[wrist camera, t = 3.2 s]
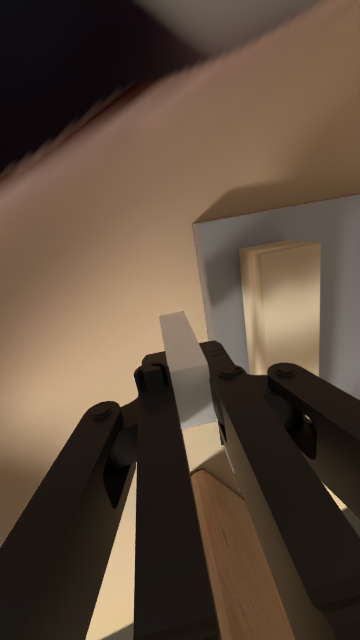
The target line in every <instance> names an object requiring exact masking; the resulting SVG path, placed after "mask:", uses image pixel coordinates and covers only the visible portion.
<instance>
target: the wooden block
mask: <svg viewBox="0 0 360 640" xmlns="http://www.w3.org/2000/svg"><path fill="white" fill-rule="evenodd" d="M191 480H192V486H193V491H194V496H195V501H196V506H197V511H198V517H199V522H200V527H201V532H202V537H203V543H204V548H205V553H206V558H207V563H208V569H209V574H210V579H211V584H212V589H213V595H214V600H215V605H216V610H217V615H218V621H219V626H220V631H221V636H222V640H295V637H294V634H293V631H292V629H291V626H290V623H289V620H288V618H287V615H286V612H285V609H284V607H283V604H282V601H281V599H280V596H279V593H278V590H277V588H276V585H275V582H274V579H273V577H272V574H271V571H270V568H269V566H268V563H267V560H266V557H265V555H264V552H263V549H262V546H261V544H260V541H259V538H258V535H257V533H256V530H255V527H254V524H253V522H252V519H251V516H250V513H249V511H248V508H247V505H246V502H245V500H244V499H242V498H241V497H240V496H238V495H237V494H236V493H234V492H233V491H232V490H230V489H229V488H228V487H227V486H225V485H224V484H223V483H221V482H220V481H219V480H217V479H216V478H215V477H213V476H212V475H211V474H209V473H208V472H207V471H204V470H201V471H197V472H196V473H194V474H193V475H192V476H191Z"/></svg>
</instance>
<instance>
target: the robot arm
mask: <svg viewBox="0 0 360 640" xmlns="http://www.w3.org/2000/svg"><path fill="white" fill-rule="evenodd" d="M159 319H160V324H161V330H162V336H163V342H164V347H165V351H164V352H159V353H154V354H149V355H146V356H145V357H144V359H143V360H142V366H140V367H139V368H137V369H136V370H135V372H134V378H135V382H136V385H137V389H138V397H137V398H136V399H135V400H134V401H132V402H131V403H129V404H127V405H124V406H122V407H120V406H119V404H118V403H116V402H114V401H106V402H101V403H99V404H96V405H94V406H93V407H91V408H90V409H88V410H87V412H86V413H85V414H84V415H83V417H82V418H81V420H80V422H79V423H78V425H77V426H76V428H75V430H74V431H73V433H72V434H71V436H70V438H69V439H68V441H67V442H66V444H65V446H64V447H63V449H62V450H61V452H60V454H59V455H58V457H57V458H56V460H55V462H54V463H53V465H52V466H51V468H50V470H49V471H48V473H47V474H46V476H45V478H44V479H43V481H42V482H41V484H40V486H39V487H38V489H37V490H36V492H35V494H34V495H33V497H32V498H31V500H30V502H29V503H28V505H27V506H26V508H25V510H24V511H23V513H22V514H21V516H20V518H19V519H18V521H17V522H16V524H15V526H14V527H13V529H12V530H11V532H10V533H9V535H8V537H7V538H6V540H5V541H4V543H3V545H2V546H1V548H0V640H85V639H86V635H87V632H88V628H89V625H90V622H91V618H92V615H93V611H94V608H95V605H96V601H97V598H98V594H99V591H100V588H101V584H102V581H103V577H104V574H105V571H106V567H107V564H108V560H109V557H110V554H111V550H112V547H113V544H114V540H115V537H116V533H117V530H118V527H119V523H120V520H121V516H122V513H123V510H124V506H125V503H126V499H127V496H128V493H129V489H130V486H131V482H132V479H133V476H134V472H135V469H136V462H137V490H136V539H135V589H134V638H133V640H222V636H221V631H220V626H219V621H218V615H217V610H216V605H215V600H214V595H213V589H212V584H211V579H210V574H209V569H208V563H207V558H206V553H205V548H204V543H203V537H202V532H201V527H200V522H199V517H198V511H197V506H196V501H195V496H194V491H193V486H192V480H191V475H190V470H189V465H188V460H187V454H186V449H185V444H184V439H183V434H182V429H185V428H190V427H194V426H199V425H203V424H207V423H212V422H216V416H217V419H218V425H219V432H220V439H221V445H225V447H226V450H227V453H228V456H229V458H230V461H231V464H232V467H233V469H234V472H235V475H236V478H237V480H238V483H239V486H240V489H241V491H242V494H243V497H244V500H245V502H246V505H247V508H248V511H249V513H250V516H251V519H252V522H253V524H254V527H255V530H256V533H257V535H258V538H259V541H260V544H261V546H262V549H263V552H264V555H265V557H266V560H267V563H268V566H269V568H270V571H271V574H272V577H273V579H274V582H275V585H276V588H277V590H278V593H279V596H280V599H281V601H282V604H283V607H284V609H285V612H286V615H287V618H288V620H289V623H290V626H291V629H292V631H293V634H294V637H295V640H360V537H359V536H358V535H357V533H356V532H355V530H354V529H353V527H352V526H351V524H350V523H349V522H348V520H347V518H346V517H345V516H344V514H343V513H342V511H341V510H340V508H339V507H338V505H337V504H336V502H335V501H334V500H333V498H332V497H331V495H330V494H329V492H328V491H327V489H326V488H325V486H324V485H323V483H324V484H325V485H326V486H327V487H328V488H329V489H330V490H331V491H332V492H333V493H334V494H335V495H336V496H337V497H338V498H339V499H340V500H341V501H342V502H343V503H344V504H345V505H346V506H347V507H348V508H349V509H350V510H351V511H352V512H353V513H354V514H355V515H356V516H357V517H358V518H359V519H360V400H358V399H357V398H355V397H353V396H351V395H350V394H348V393H346V392H344V391H343V390H341V389H339V388H337V387H336V386H334V385H332V384H330V383H329V382H327V381H325V380H323V379H322V378H320V377H318V376H316V375H315V374H313V373H311V372H309V371H308V370H306V369H304V368H302V367H301V366H299V365H296V364H293V363H287V362H284V363H283V362H282V363H277V364H273V365H272V366H270V367H269V368H268V369H267V375H250V374H247V373H246V371H245V370H244V369H243V368H242V367H240V366H237V365H235V364H234V363H233V361H232V360H231V358H230V356H229V355H228V353H227V352H226V350H225V349H224V347H223V346H222V344H221V343H219V342H217V341H215V340H213V341H208V342H203V343H198V341H197V339H196V337H195V335H194V333H193V330H192V328H191V326H190V324H189V322H188V320H187V317H186V315H185V313H184V311H182V312H177V313H172V314H167V315H162V316H159ZM215 414H216V415H215ZM306 416H307V417H308V418H307V417H306ZM320 480H321V481H322V482H323V483H322V482H321V481H320Z"/></svg>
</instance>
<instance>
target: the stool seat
mask: <svg viewBox="0 0 360 640" xmlns="http://www.w3.org/2000/svg"><path fill="white" fill-rule="evenodd" d="M192 225H193V232H194V239H195V246H196V254H197V261H198V268H199V275H200V282H201V289H202V296H203V303H204V310H205V317H206V324H207V331H208V338H209V341H213V340H215V341H217V342H219V343H221V344H222V346H223V347H224V349H225V350H226V352H227V353H228V355H229V356H230V358H231V360H232V361H233V363H234V364H235V365H237V366H240V367H242V368H243V369H244V370H245V371H246V373H247V374H250V373H249V361H248V350H247V339H246V327H245V316H244V305H243V293H242V282H241V271H240V259H239V249H243V248H248V247H253V246H258V245H264V244H269V243H274V242H280V241H285V240H295V241H305V242H314V243H321V258H320V330H319V377H320V378H322V379H323V380H325V381H327V382H329V383H330V384H332V385H334V386H336V387H337V388H339V389H341V390H343V391H344V392H346V393H348V394H350V395H351V396H353V397H355V398H357V399H358V400H360V194H355V195H350V196H344V197H338V198H333V199H327V200H322V201H316V202H310V203H305V204H299V205H294V206H288V207H283V208H277V209H271V210H266V211H260V212H255V213H249V214H243V215H238V216H232V217H227V218H221V219H216V220H210V221H204V222H199V223H193V224H192ZM224 450H225V453H226V455H227V458H228V461H229V463H230V466H231V469H232V471H233V474H234V473H235V472H234V469H233V467H232V464H231V461H230V458H229V456H228V453H227V450H226V447H225V445H224Z"/></svg>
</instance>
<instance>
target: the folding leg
mask: <svg viewBox="0 0 360 640" xmlns="http://www.w3.org/2000/svg"><path fill="white" fill-rule="evenodd" d="M320 258H321V243H314V242H305V241H295V240H285V241H280V242H274V243H269V244H264V245H258V246H253V247H248V248H243V249H239V259H240V271H241V282H242V293H243V305H244V316H245V327H246V339H247V350H248V361H249V373H250V375H267V369H268V368H269V367H270V366H272V365H273V364H277V363H282V362H283V363H284V362H287V363H293V364H296V365H299V366H301V367H302V368H304V369H306V370H308V371H309V372H311V373H313V374H315V375H316V376H318V377H319V330H320ZM306 417H307V416H306ZM307 418H308V417H307Z"/></svg>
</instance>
